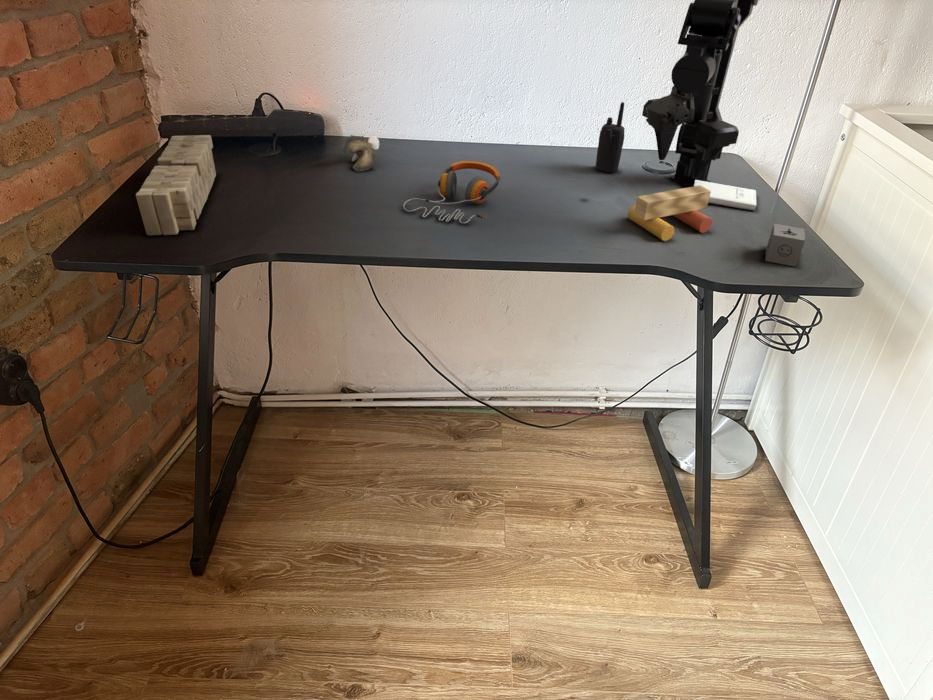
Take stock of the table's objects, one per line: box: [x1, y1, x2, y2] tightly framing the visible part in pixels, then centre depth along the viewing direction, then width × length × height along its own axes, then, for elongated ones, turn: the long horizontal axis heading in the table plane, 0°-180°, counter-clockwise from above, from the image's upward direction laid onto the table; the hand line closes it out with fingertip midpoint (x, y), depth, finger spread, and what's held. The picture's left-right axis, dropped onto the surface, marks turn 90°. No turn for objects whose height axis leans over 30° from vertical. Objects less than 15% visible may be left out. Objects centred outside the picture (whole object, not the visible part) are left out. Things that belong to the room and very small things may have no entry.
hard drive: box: [694, 180, 757, 211], centre depth 141 cm, size 2×8×12 cm
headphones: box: [402, 160, 501, 224], centre depth 134 cm, size 17×5×20 cm
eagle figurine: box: [341, 134, 380, 172], centre depth 149 cm, size 8×7×9 cm
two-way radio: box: [595, 101, 625, 174], centre depth 148 cm, size 6×4×15 cm
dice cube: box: [764, 223, 806, 267], centre depth 120 cm, size 5×5×5 cm
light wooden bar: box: [634, 185, 711, 220], centre depth 127 cm, size 15×3×4 cm, turn 116°
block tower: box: [135, 134, 217, 236], centre depth 128 cm, size 8×8×29 cm
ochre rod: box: [627, 204, 675, 242], centre depth 128 cm, size 3×10×3 cm, turn 26°
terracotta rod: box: [672, 210, 713, 234], centre depth 131 cm, size 3×10×3 cm, turn 26°
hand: (678, 168), depth 125 cm, fingers open, 9 cm apart
